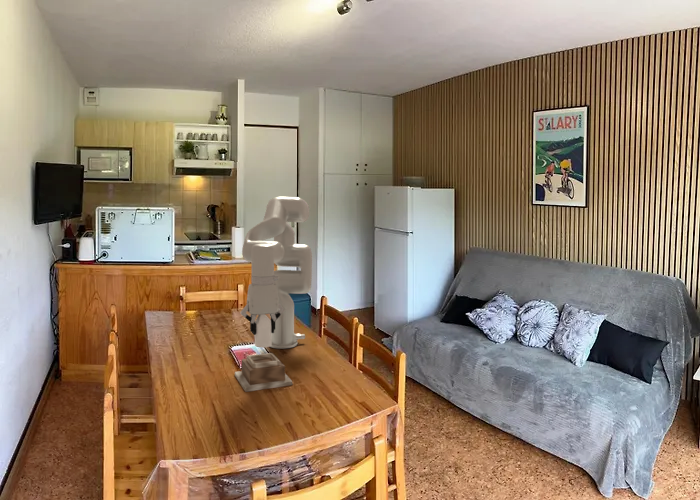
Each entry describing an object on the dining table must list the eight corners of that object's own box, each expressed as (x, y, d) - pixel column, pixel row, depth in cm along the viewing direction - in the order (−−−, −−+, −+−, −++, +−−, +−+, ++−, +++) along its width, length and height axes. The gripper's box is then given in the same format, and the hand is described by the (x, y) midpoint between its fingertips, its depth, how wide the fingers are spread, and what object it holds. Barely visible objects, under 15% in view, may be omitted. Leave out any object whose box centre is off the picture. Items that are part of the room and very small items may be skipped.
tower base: (278, 369, 193) (278, 348, 192) (292, 384, 179) (292, 362, 178) (234, 375, 186) (234, 354, 185) (245, 391, 172) (245, 369, 171)
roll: (274, 310, 181) (265, 313, 176) (274, 344, 182) (265, 348, 177) (260, 308, 183) (250, 311, 178) (260, 341, 185) (250, 346, 179)
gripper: (284, 277, 185) (283, 327, 187) (234, 280, 178) (235, 332, 180) (290, 281, 178) (290, 333, 180) (239, 284, 171) (240, 338, 173)
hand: (262, 332), depth 180 cm, fingers closed on roll, 5 cm apart
